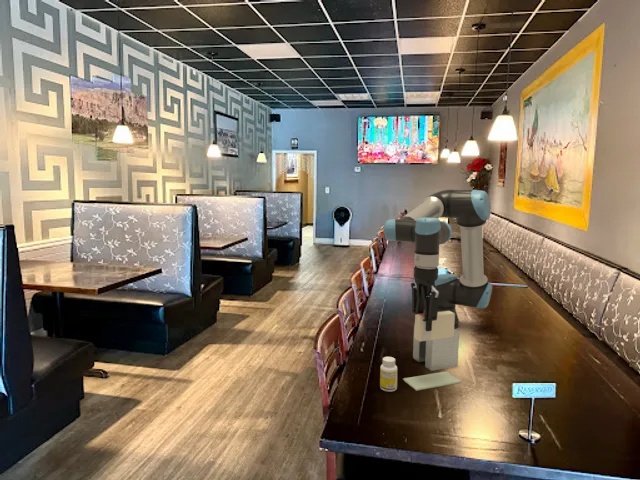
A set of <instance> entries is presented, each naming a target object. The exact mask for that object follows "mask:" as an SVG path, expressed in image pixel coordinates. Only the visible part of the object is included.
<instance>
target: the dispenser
mask: <svg viewBox="0 0 640 480" xmlns="http://www.w3.org/2000/svg"><path fill="white" fill-rule="evenodd" d="M459 344H460V331H459V330H457V329H456V328H454V337H449V338H442V339H435V340H427V341H420V342H419V341H418V340H416V339H415V323H414V324H413V345H412V346H413V347H412V348H413V349H412V350H413V351H412V358H413V359H414V360H415V361H417V362H418V363H420V362H421V363H422V362H424V363H425V364H424V367H425V368H427V370H429V371H432V372H433V371H439V370H445V369H450V368H456V367H458V363H459V347H460V346H459Z"/></svg>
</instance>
